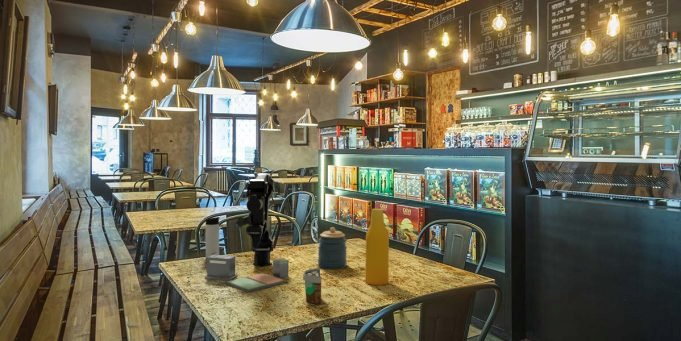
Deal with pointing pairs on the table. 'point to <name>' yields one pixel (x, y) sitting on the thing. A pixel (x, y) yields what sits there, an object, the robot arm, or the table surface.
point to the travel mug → (212, 236)
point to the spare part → (280, 268)
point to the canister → (332, 250)
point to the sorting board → (255, 282)
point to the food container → (313, 286)
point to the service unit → (221, 267)
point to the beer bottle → (377, 250)
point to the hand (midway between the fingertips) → (257, 246)
